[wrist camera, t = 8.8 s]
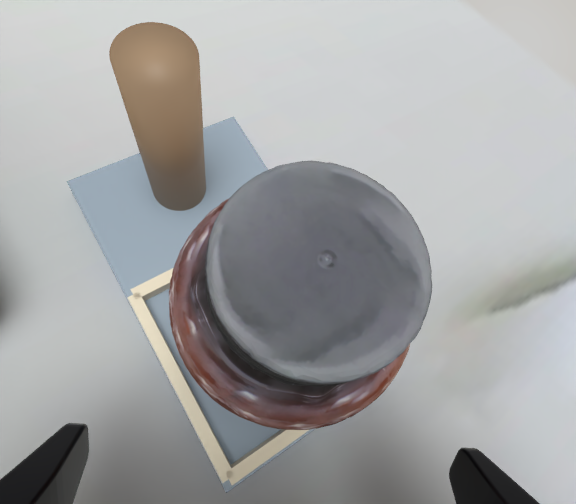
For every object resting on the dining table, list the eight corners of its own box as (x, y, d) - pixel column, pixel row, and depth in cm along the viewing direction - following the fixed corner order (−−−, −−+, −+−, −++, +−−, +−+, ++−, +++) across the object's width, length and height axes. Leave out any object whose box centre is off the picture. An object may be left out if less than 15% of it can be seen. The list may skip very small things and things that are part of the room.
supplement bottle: (248, 246, 18) (282, 57, 8) (353, 319, 18) (539, 225, 8) (163, 354, 16) (56, 295, 6) (281, 440, 16) (396, 545, 5)
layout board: (388, 370, 19) (527, 354, 10) (225, 486, 16) (235, 591, 8) (232, 128, 22) (242, -37, 13) (73, 191, 19) (-39, 35, 11)
